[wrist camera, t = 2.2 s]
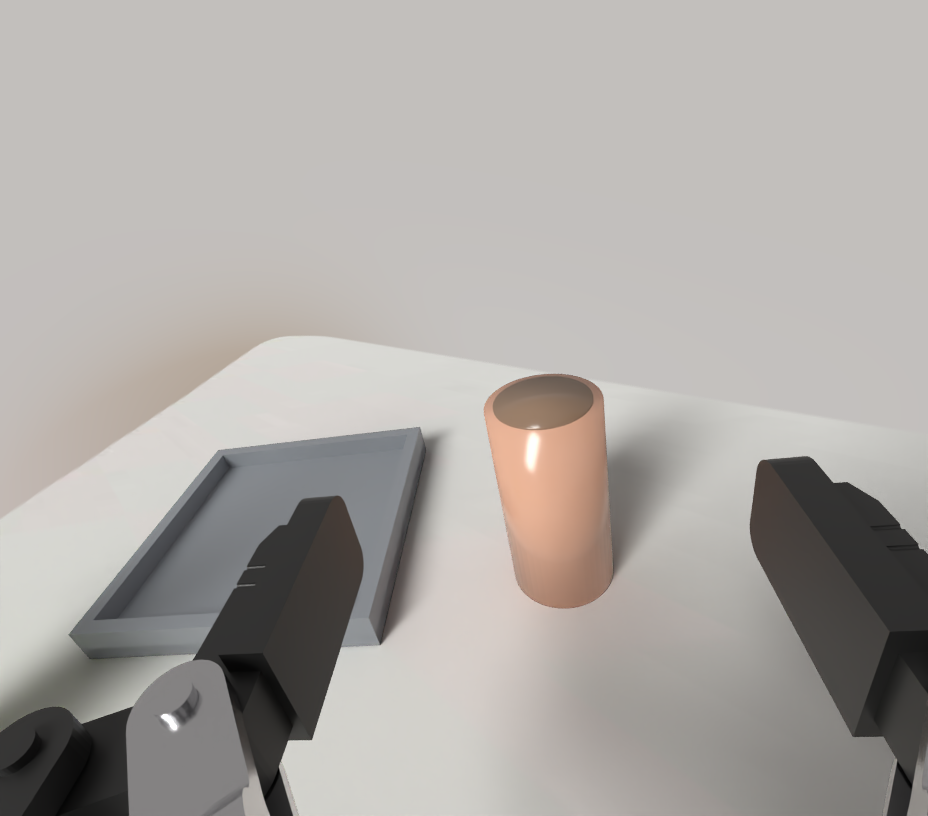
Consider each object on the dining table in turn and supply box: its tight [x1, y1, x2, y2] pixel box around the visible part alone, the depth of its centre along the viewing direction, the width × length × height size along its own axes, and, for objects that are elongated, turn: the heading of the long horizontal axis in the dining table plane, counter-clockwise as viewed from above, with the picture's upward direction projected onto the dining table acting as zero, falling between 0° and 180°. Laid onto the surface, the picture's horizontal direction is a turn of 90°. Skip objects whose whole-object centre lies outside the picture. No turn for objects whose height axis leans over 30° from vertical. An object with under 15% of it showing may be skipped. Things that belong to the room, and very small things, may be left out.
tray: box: [69, 427, 426, 659], centre depth 33 cm, size 16×16×2 cm
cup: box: [484, 374, 613, 608], centre depth 25 cm, size 5×5×10 cm
